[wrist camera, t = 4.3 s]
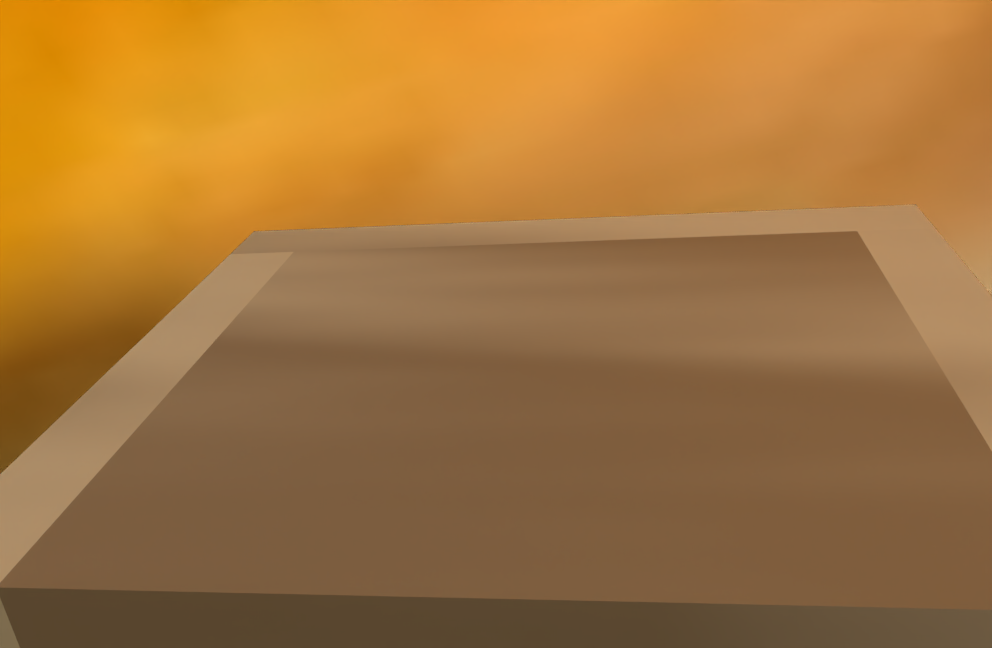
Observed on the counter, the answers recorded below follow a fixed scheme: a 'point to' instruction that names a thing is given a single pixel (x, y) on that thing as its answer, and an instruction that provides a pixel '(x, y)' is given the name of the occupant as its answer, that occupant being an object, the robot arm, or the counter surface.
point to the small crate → (531, 445)
